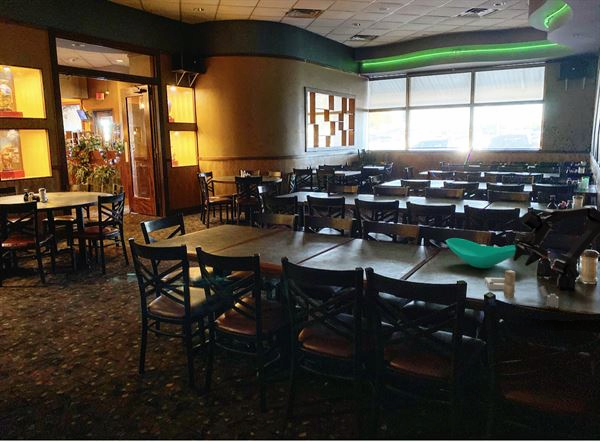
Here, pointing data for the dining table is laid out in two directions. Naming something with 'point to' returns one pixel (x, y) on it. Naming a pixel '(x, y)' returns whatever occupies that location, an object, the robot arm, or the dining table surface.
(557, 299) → the grey notched flat piece
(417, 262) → the dining table surface
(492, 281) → the housing
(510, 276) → the wooden cylinder
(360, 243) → the dining table surface
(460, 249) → the table top decor
